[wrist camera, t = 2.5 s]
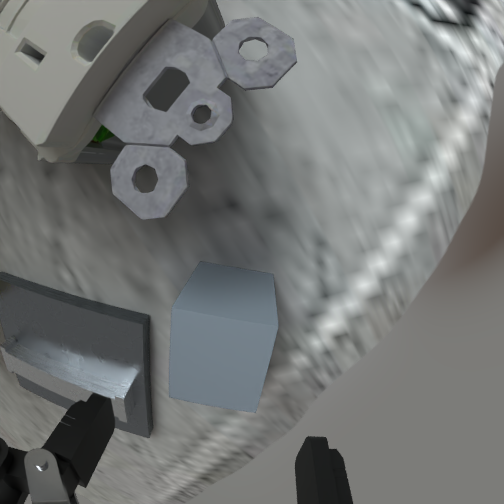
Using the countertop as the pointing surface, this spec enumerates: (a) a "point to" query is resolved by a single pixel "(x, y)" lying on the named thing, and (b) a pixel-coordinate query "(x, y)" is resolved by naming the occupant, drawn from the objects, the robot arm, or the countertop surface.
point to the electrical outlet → (129, 83)
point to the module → (222, 337)
